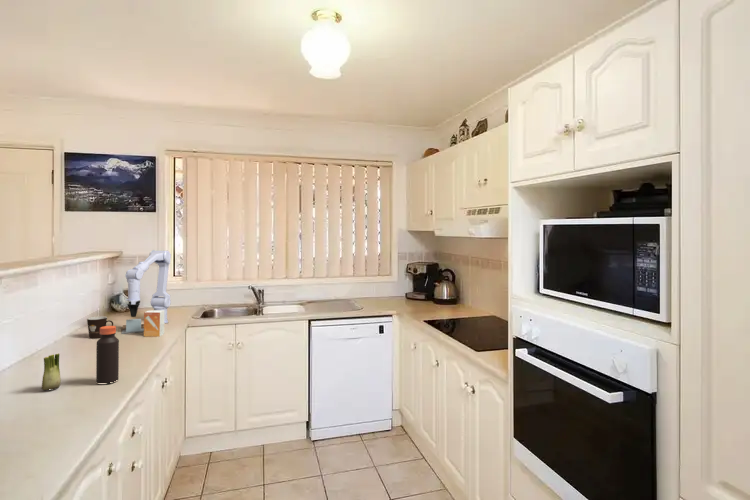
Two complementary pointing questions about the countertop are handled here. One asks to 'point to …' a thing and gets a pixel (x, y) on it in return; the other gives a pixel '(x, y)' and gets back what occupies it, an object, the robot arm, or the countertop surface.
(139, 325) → the painted block
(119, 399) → the countertop surface
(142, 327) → the walnut frame
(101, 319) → the coffee mug
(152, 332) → the small box
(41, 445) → the countertop surface
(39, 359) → the countertop surface
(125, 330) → the rubber mat
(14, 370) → the countertop surface
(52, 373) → the fennel bulb
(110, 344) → the bottle
